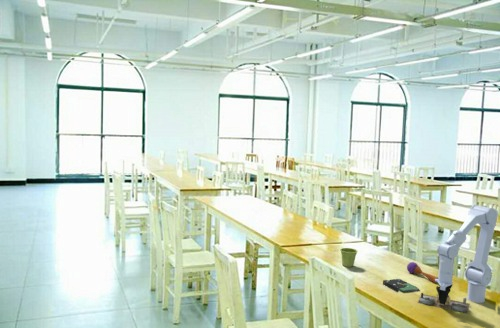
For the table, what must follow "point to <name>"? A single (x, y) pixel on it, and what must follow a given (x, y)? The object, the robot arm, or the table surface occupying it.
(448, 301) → the brass gear
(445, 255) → the robot arm
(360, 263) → the table surface
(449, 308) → the gear board
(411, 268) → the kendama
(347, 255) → the plant pot
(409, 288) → the disk drive
